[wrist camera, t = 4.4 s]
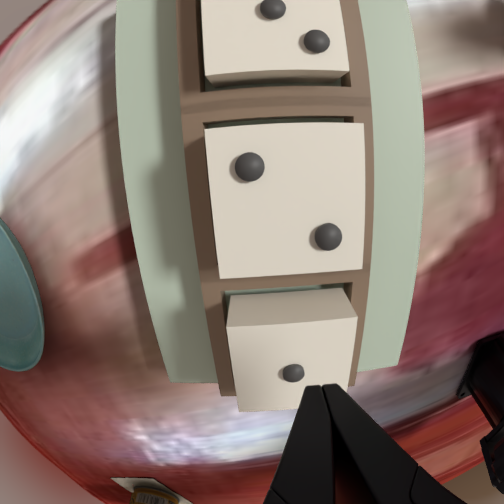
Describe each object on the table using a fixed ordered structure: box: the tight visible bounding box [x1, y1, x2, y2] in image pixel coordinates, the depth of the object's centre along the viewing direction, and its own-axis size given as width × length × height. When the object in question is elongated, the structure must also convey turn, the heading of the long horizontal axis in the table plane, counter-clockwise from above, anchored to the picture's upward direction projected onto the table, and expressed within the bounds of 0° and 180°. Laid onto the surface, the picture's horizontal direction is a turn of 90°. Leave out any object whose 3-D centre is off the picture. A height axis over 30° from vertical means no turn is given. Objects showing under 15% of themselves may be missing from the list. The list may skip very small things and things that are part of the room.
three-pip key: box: [201, 0, 349, 88], centre depth 9 cm, size 5×5×3 cm
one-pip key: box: [226, 288, 358, 412], centre depth 13 cm, size 5×5×3 cm
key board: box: [115, 0, 424, 396], centre depth 13 cm, size 22×14×3 cm, turn 4°
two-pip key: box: [204, 122, 365, 279], centre depth 11 cm, size 5×5×3 cm
